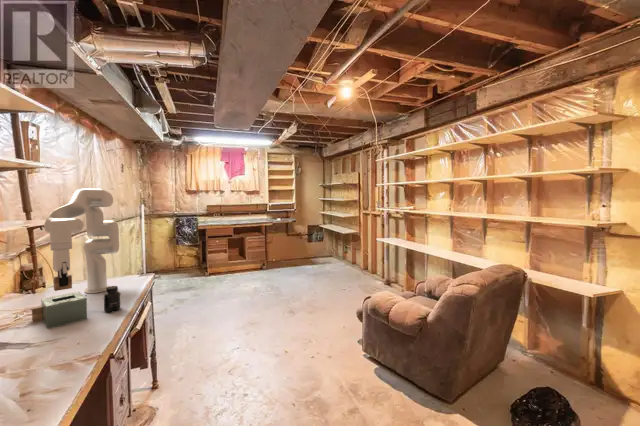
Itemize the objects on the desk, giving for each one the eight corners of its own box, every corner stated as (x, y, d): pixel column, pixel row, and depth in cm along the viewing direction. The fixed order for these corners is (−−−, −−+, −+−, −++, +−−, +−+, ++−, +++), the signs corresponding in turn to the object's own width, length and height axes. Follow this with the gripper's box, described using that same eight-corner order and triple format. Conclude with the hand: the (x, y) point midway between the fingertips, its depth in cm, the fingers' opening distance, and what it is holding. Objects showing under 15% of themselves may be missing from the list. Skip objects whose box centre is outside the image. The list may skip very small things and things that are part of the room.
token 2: (53, 289, 138) (53, 276, 138) (70, 286, 142) (70, 274, 142) (55, 290, 136) (54, 277, 136) (71, 288, 140) (71, 275, 140)
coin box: (42, 319, 139) (41, 298, 139) (79, 311, 150) (79, 291, 149) (47, 328, 130) (46, 306, 130) (87, 318, 141) (86, 298, 140)
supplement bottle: (112, 313, 147) (111, 289, 147) (100, 312, 149) (99, 288, 148) (123, 308, 154) (123, 285, 153) (112, 307, 155) (112, 284, 155)
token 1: (32, 320, 139) (31, 307, 139) (49, 316, 144) (48, 303, 144) (33, 321, 137) (32, 309, 137) (50, 317, 142) (49, 305, 142)
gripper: (47, 245, 140) (49, 283, 141) (54, 249, 130) (55, 290, 131) (68, 243, 146) (69, 280, 147) (75, 247, 136) (77, 286, 137)
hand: (63, 285), depth 139 cm, fingers closed on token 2, 2 cm apart
